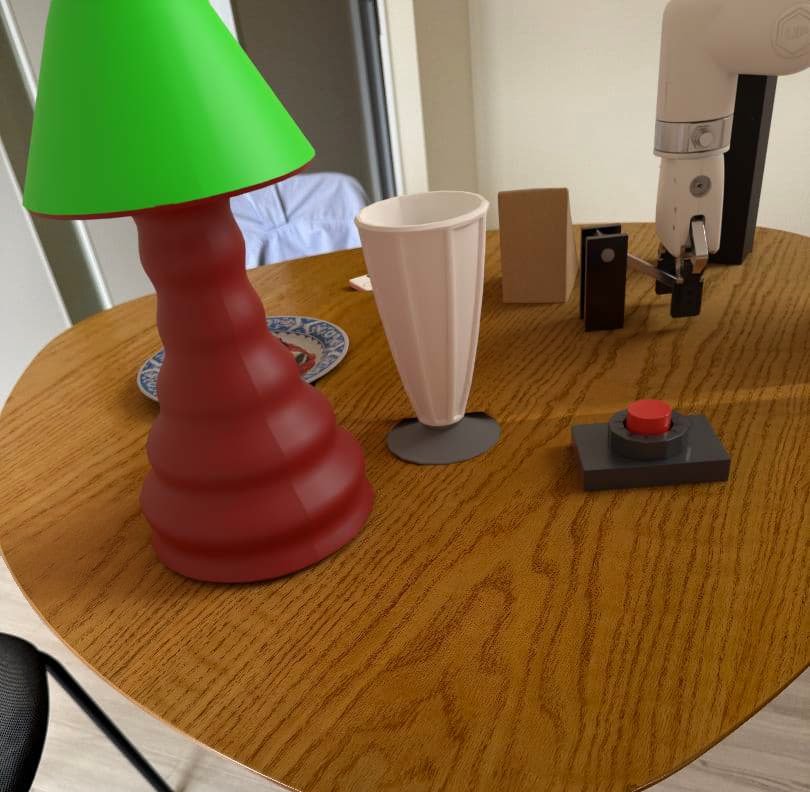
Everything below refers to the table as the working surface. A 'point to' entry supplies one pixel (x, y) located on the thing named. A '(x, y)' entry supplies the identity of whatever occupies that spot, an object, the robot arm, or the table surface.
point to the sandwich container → (536, 245)
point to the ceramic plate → (303, 336)
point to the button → (648, 417)
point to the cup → (431, 316)
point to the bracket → (603, 277)
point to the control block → (648, 454)
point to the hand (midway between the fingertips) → (676, 303)
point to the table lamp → (197, 279)
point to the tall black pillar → (744, 167)
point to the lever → (647, 267)
